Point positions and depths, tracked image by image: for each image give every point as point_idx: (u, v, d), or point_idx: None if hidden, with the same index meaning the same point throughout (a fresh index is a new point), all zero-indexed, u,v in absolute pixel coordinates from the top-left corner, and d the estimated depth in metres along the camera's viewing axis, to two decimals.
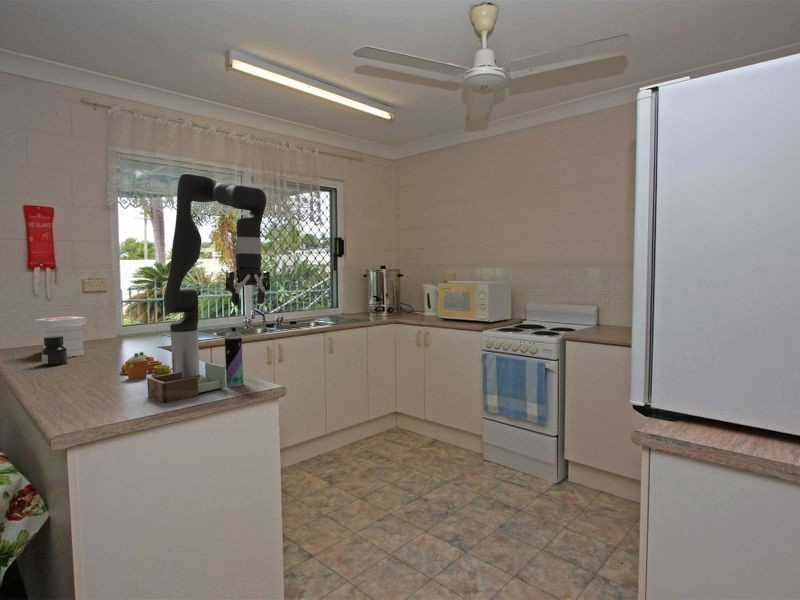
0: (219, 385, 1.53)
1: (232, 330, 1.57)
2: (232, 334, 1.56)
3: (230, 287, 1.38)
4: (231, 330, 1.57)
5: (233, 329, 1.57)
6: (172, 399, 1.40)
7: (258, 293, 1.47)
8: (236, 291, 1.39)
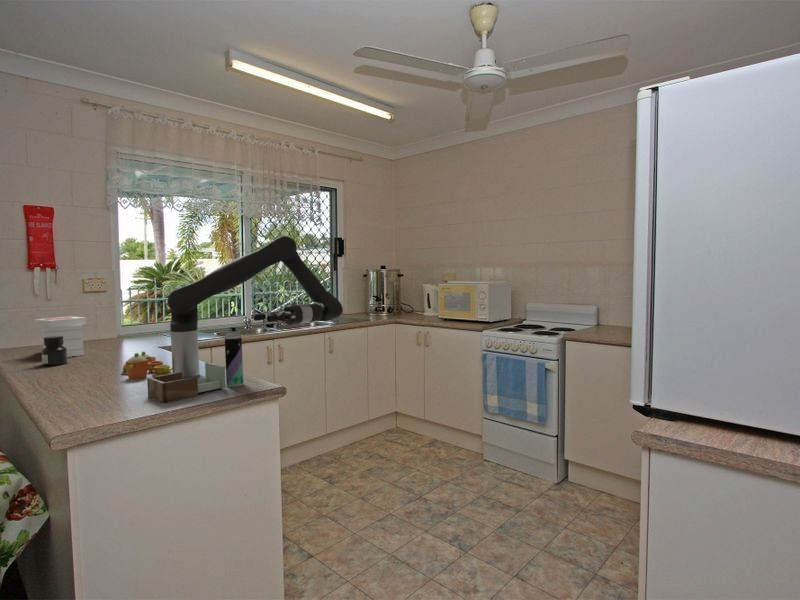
0: (219, 385, 1.53)
1: (232, 330, 1.57)
2: (232, 334, 1.56)
3: (285, 321, 1.66)
4: (231, 330, 1.57)
5: (233, 329, 1.57)
6: (172, 399, 1.40)
7: (262, 315, 1.71)
8: (279, 321, 1.66)
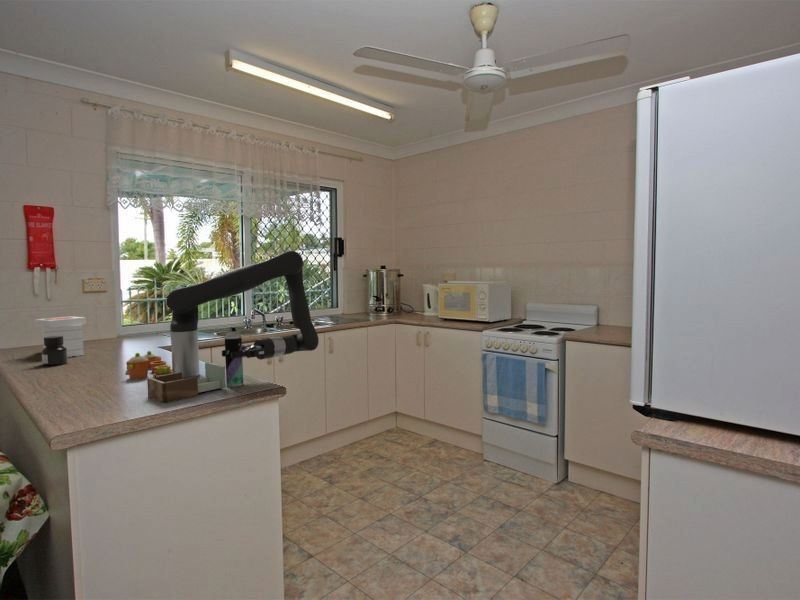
0: (219, 385, 1.53)
1: (232, 330, 1.57)
2: (232, 334, 1.56)
3: (250, 357, 1.57)
4: (231, 330, 1.57)
5: (233, 329, 1.57)
6: (172, 399, 1.40)
7: None
8: (244, 357, 1.58)
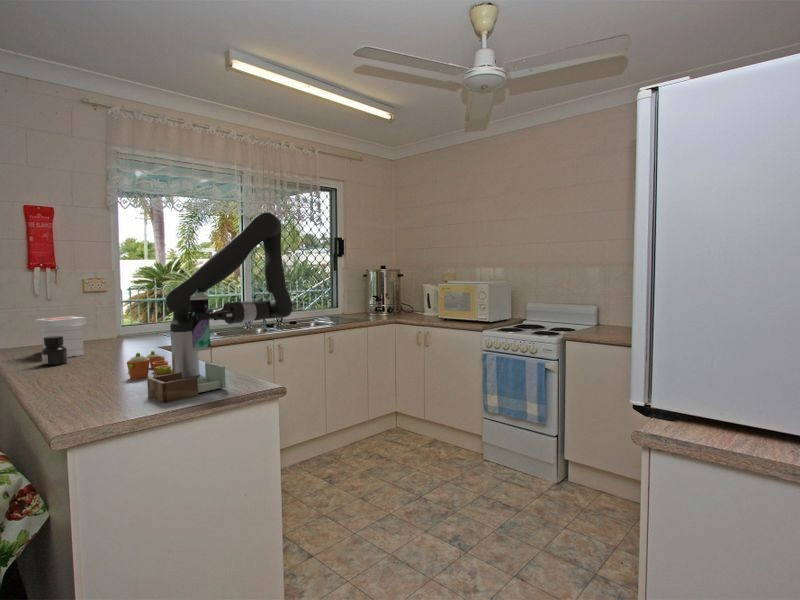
0: (219, 385, 1.53)
1: (198, 291, 1.50)
2: (198, 295, 1.49)
3: (217, 319, 1.50)
4: (197, 291, 1.50)
5: (199, 290, 1.50)
6: (172, 399, 1.40)
7: None
8: (211, 319, 1.51)
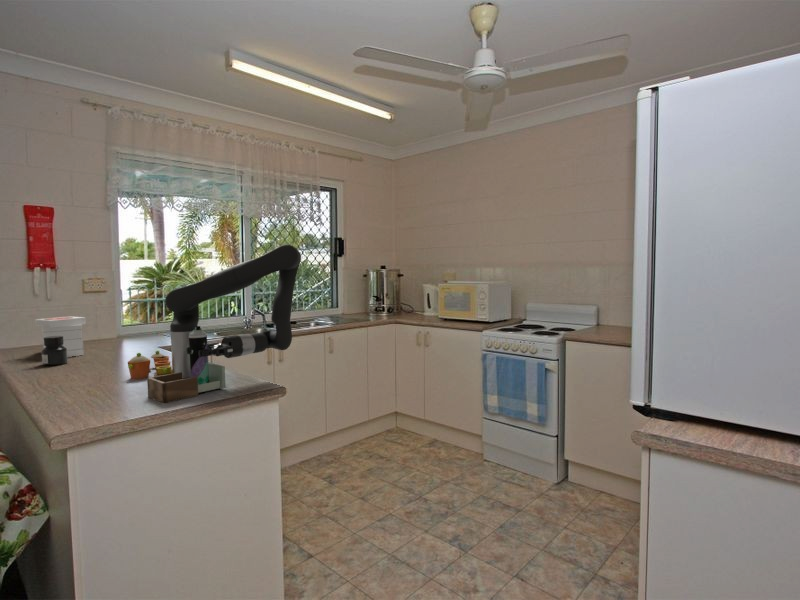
0: (219, 385, 1.53)
1: (196, 329, 1.51)
2: (196, 333, 1.49)
3: (219, 355, 1.50)
4: (195, 329, 1.51)
5: (197, 328, 1.51)
6: (172, 399, 1.40)
7: None
8: (213, 355, 1.50)
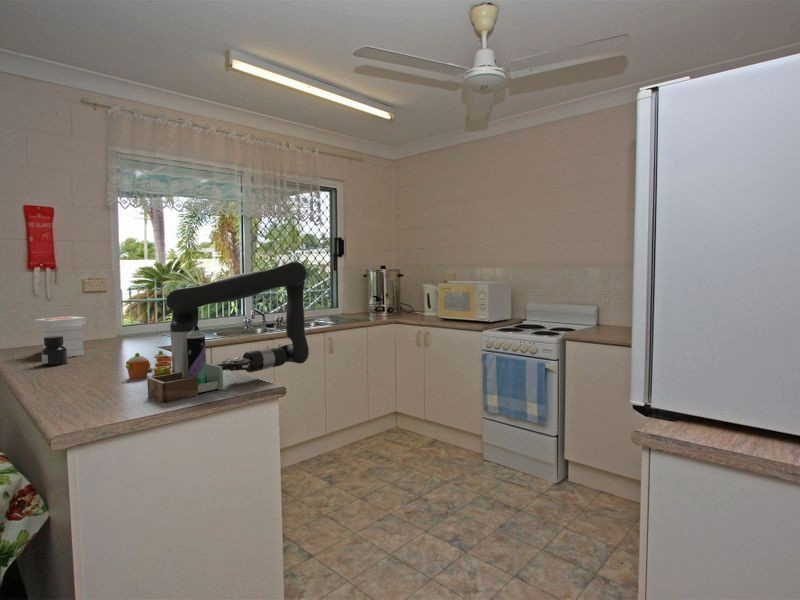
0: (217, 386, 1.52)
1: (194, 329, 1.50)
2: (194, 333, 1.49)
3: None
4: (193, 329, 1.50)
5: (195, 328, 1.50)
6: (172, 399, 1.40)
7: None
8: (227, 370, 1.59)
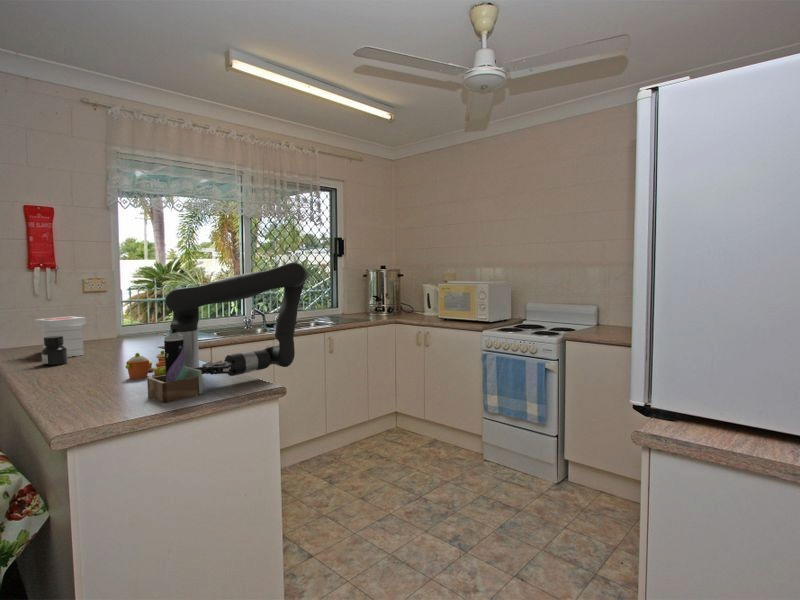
0: None
1: (172, 331, 1.45)
2: (172, 336, 1.43)
3: (213, 373, 1.53)
4: (171, 331, 1.45)
5: (173, 330, 1.45)
6: (172, 399, 1.40)
7: None
8: (207, 373, 1.53)
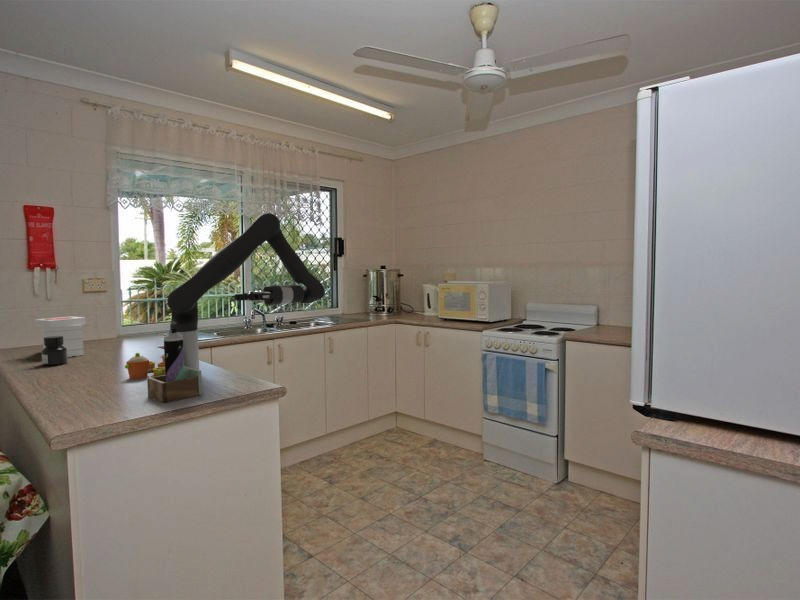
0: None
1: (172, 332, 1.44)
2: (171, 336, 1.43)
3: (254, 300, 1.63)
4: (171, 332, 1.44)
5: (173, 330, 1.45)
6: (172, 399, 1.40)
7: None
8: (248, 300, 1.64)
